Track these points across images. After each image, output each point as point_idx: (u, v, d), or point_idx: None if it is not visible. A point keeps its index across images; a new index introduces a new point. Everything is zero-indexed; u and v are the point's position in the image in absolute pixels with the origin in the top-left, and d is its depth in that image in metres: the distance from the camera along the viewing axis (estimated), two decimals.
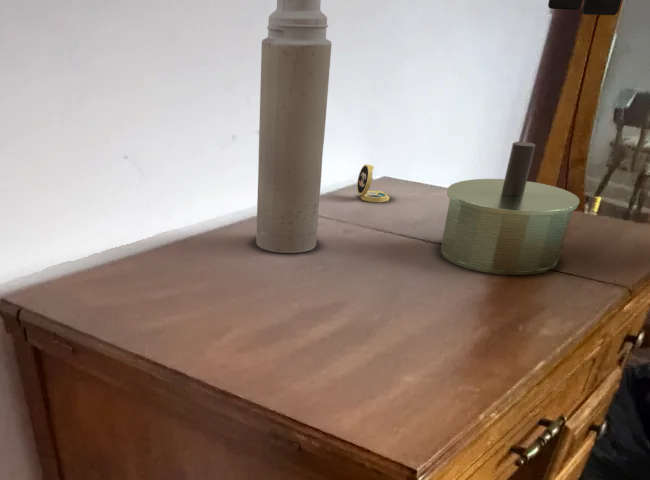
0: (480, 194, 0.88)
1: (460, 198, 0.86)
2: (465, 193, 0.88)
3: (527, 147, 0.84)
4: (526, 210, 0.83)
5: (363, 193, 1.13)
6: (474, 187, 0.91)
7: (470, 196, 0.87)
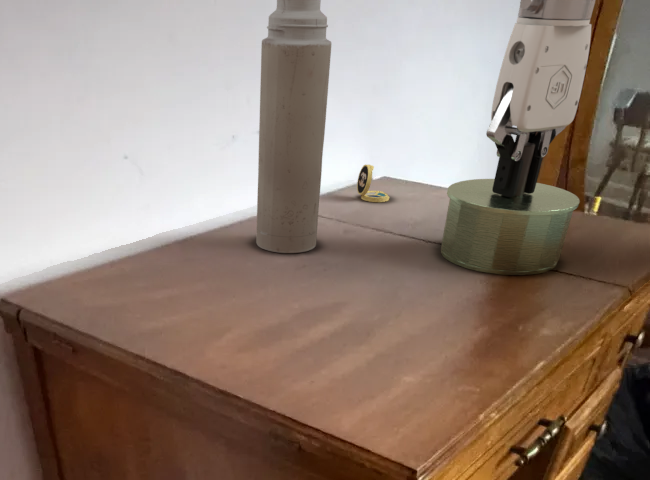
0: (480, 194, 0.88)
1: (460, 198, 0.86)
2: (465, 193, 0.88)
3: (527, 147, 0.84)
4: (526, 210, 0.83)
5: (363, 193, 1.13)
6: (474, 187, 0.91)
7: (470, 196, 0.87)
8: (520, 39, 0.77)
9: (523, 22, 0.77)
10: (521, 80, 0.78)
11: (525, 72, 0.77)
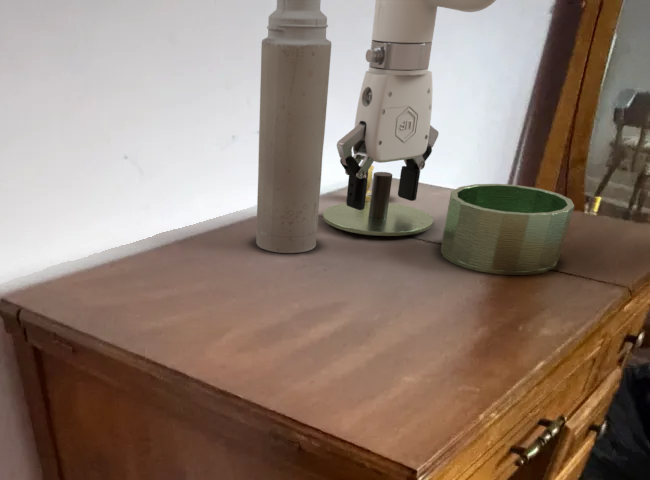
0: (349, 216, 1.03)
1: (330, 220, 1.01)
2: (337, 215, 1.03)
3: (384, 177, 0.99)
4: (381, 231, 0.97)
5: None
6: (347, 209, 1.05)
7: (340, 218, 1.02)
8: (368, 85, 0.91)
9: (371, 71, 0.91)
10: (371, 119, 0.92)
11: (374, 113, 0.91)
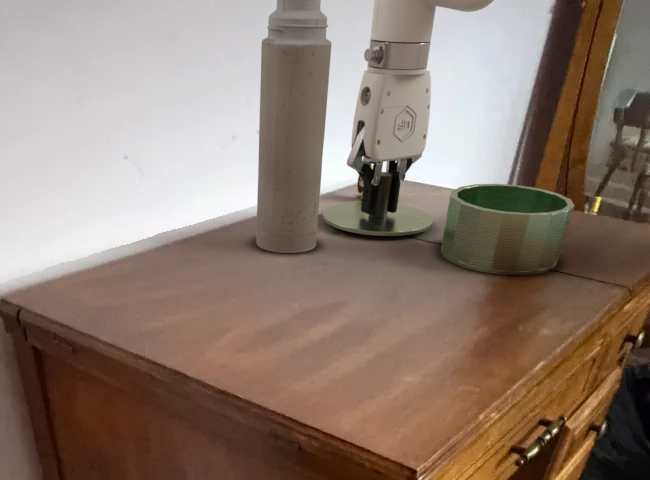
0: (349, 216, 1.03)
1: (330, 220, 1.01)
2: (337, 215, 1.03)
3: (384, 177, 0.99)
4: (381, 231, 0.97)
5: None
6: (347, 209, 1.05)
7: (340, 218, 1.02)
8: (367, 85, 0.91)
9: (370, 70, 0.91)
10: (370, 119, 0.92)
11: (372, 113, 0.91)
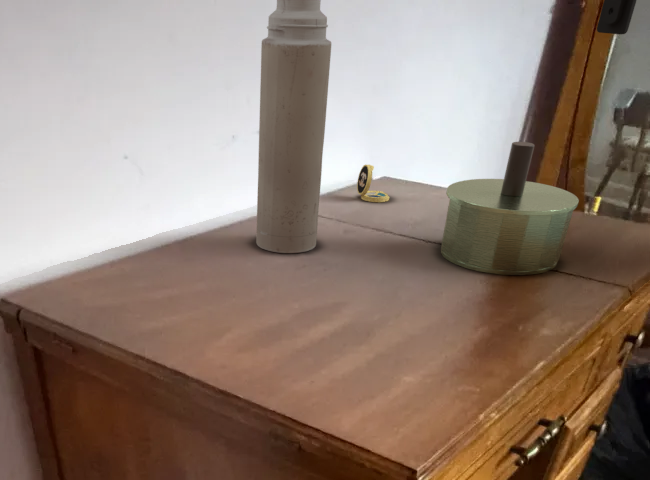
0: (479, 194, 0.88)
1: (459, 198, 0.87)
2: (464, 193, 0.88)
3: (526, 147, 0.84)
4: (525, 210, 0.83)
5: (363, 193, 1.13)
6: (473, 187, 0.91)
7: (469, 196, 0.87)
8: None
9: None
10: None
11: None
